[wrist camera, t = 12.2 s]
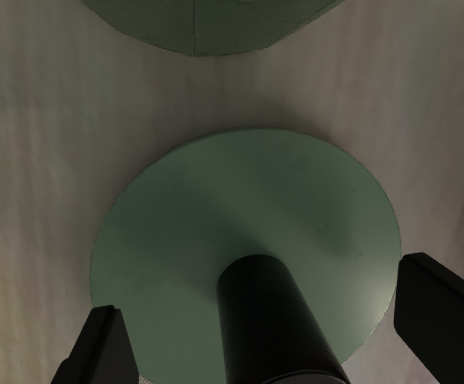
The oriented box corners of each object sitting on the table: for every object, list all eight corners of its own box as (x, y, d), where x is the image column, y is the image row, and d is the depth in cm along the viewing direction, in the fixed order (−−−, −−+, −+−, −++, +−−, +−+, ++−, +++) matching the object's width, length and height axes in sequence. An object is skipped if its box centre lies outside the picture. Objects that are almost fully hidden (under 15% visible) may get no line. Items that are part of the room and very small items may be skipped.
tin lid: (59, 148, 10) (-126, 220, 4) (392, 105, 11) (614, 115, 5) (136, 400, 14) (94, 617, 8) (377, 352, 15) (494, 515, 9)
